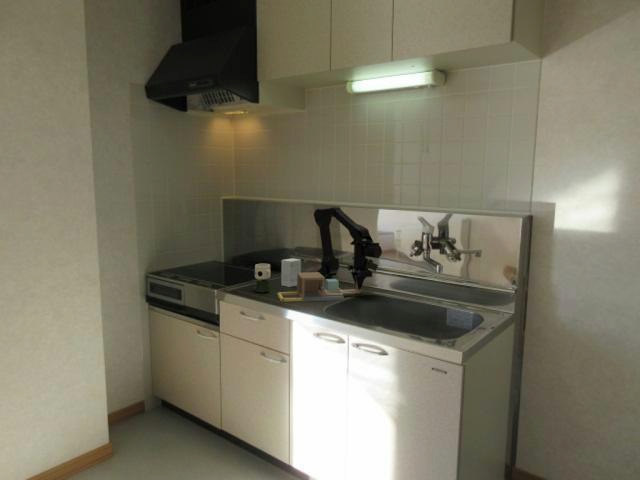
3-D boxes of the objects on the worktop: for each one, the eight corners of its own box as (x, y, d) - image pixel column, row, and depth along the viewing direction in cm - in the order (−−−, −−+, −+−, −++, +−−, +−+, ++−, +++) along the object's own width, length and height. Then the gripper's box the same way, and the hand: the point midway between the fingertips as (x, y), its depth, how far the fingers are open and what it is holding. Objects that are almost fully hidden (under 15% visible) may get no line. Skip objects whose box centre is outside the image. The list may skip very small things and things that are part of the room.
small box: (292, 282, 239) (292, 257, 238) (301, 284, 235) (301, 259, 234) (280, 285, 233) (281, 259, 232) (289, 287, 229) (290, 261, 228)
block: (324, 289, 213) (325, 279, 212) (335, 289, 214) (335, 278, 214) (327, 292, 208) (328, 281, 208) (338, 292, 209) (338, 281, 209)
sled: (321, 291, 214) (321, 278, 214) (357, 290, 219) (358, 277, 218) (325, 295, 207) (325, 281, 206) (363, 294, 211) (363, 280, 210)
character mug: (249, 291, 219) (249, 264, 218) (260, 288, 224) (261, 262, 223) (263, 295, 212) (264, 267, 210) (275, 292, 217) (276, 265, 215)
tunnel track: (277, 295, 212) (277, 273, 210) (336, 293, 218) (337, 271, 217) (281, 302, 200) (282, 278, 199) (343, 299, 207) (344, 276, 206)
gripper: (383, 258, 205) (382, 292, 207) (369, 252, 223) (368, 283, 225) (360, 258, 203) (358, 293, 205) (347, 252, 221) (346, 284, 223)
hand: (358, 288), depth 214 cm, fingers closed on sled, 2 cm apart
